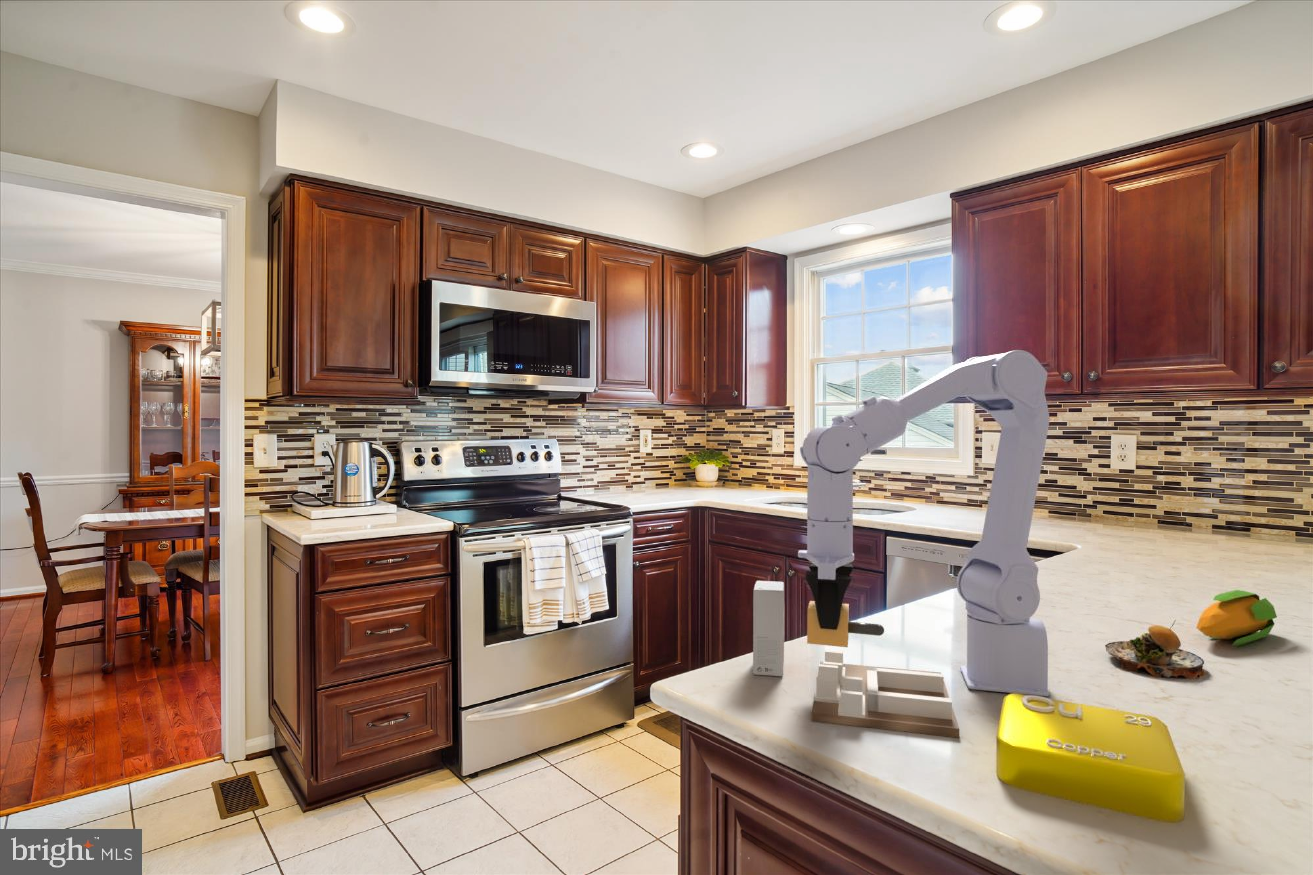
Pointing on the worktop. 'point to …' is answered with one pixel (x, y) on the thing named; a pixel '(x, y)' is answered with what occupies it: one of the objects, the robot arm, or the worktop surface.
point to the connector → (844, 628)
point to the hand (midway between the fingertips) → (829, 623)
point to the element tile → (1090, 756)
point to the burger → (1157, 654)
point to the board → (886, 720)
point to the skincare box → (768, 628)
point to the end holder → (907, 702)
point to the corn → (1237, 617)
